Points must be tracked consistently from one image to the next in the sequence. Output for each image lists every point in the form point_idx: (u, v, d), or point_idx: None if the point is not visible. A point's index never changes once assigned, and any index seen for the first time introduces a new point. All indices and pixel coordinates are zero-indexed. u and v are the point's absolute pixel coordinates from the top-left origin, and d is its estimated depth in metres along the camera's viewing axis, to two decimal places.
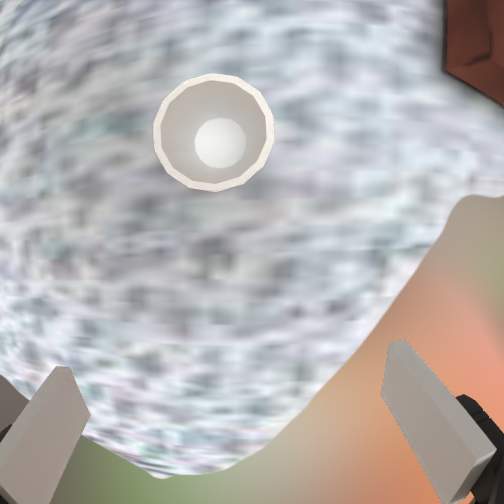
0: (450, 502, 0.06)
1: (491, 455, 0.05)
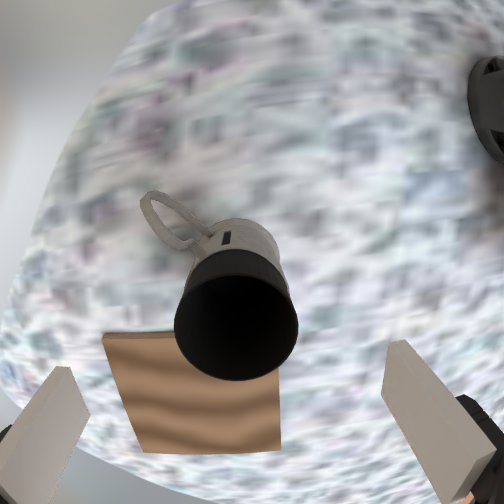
0: (450, 502, 0.06)
1: (491, 455, 0.05)
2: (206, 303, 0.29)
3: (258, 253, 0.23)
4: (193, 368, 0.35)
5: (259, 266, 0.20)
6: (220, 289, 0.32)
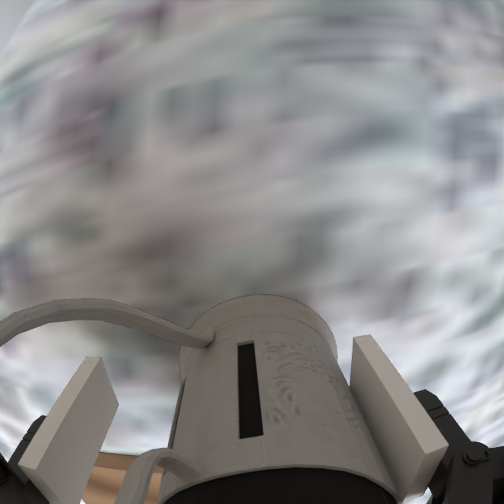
0: (406, 496, 0.07)
1: (443, 451, 0.06)
2: None
3: (347, 470, 0.06)
4: None
5: None
6: None
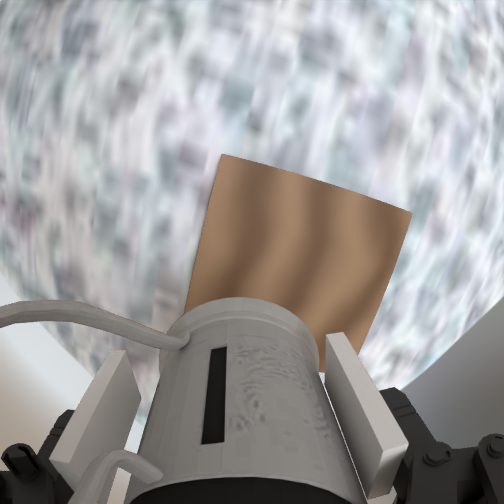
0: (371, 493, 0.07)
1: (404, 449, 0.07)
2: None
3: (309, 482, 0.06)
4: (239, 263, 0.31)
5: None
6: None
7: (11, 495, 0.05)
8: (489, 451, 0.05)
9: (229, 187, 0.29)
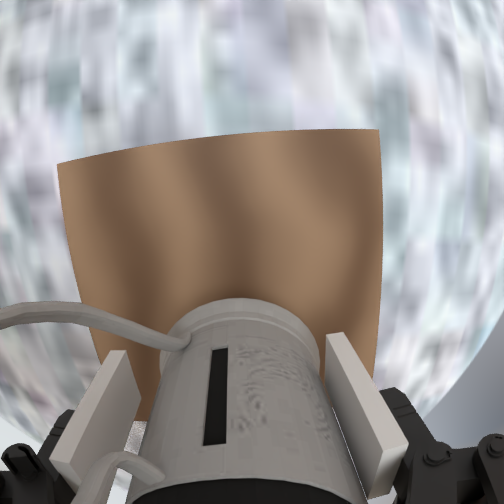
0: (371, 493, 0.07)
1: (403, 449, 0.07)
2: None
3: (311, 483, 0.06)
4: (137, 303, 0.20)
5: None
6: None
7: (11, 495, 0.05)
8: (489, 451, 0.05)
9: (80, 203, 0.18)
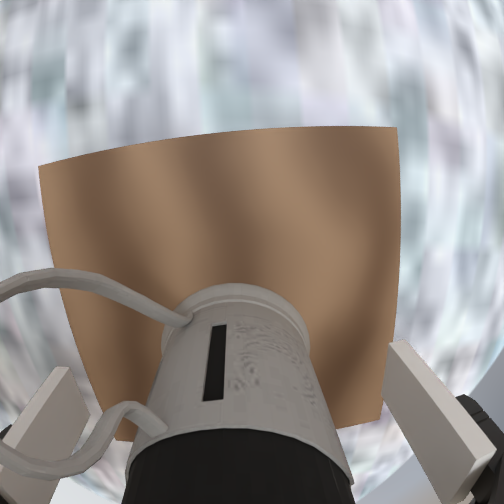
0: (450, 502, 0.06)
1: (491, 455, 0.05)
2: None
3: (297, 437, 0.08)
4: (127, 321, 0.17)
5: None
6: None
7: None
8: None
9: (63, 210, 0.16)
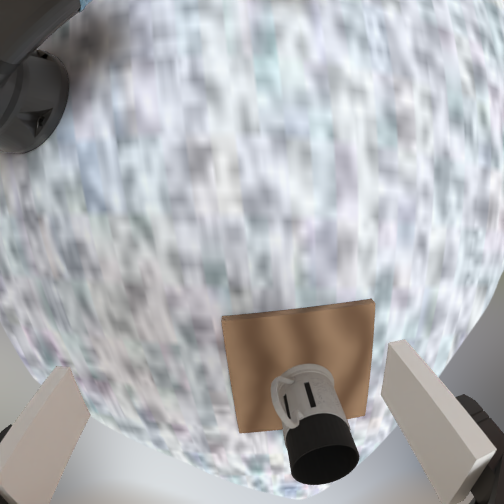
0: (450, 502, 0.06)
1: (491, 455, 0.05)
2: None
3: (335, 414, 0.32)
4: (260, 379, 0.42)
5: (340, 431, 0.30)
6: None
7: None
8: None
9: (235, 339, 0.41)
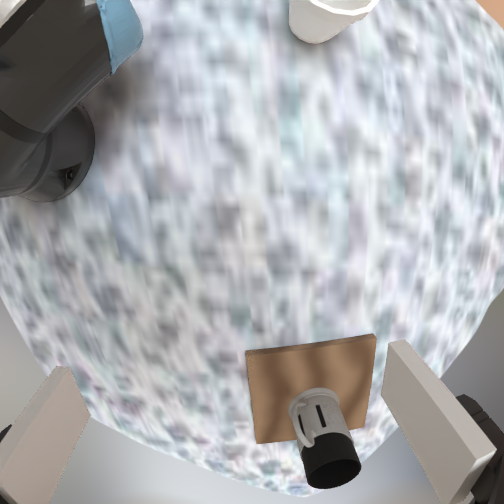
0: (450, 502, 0.06)
1: (491, 455, 0.05)
2: None
3: (342, 433, 0.38)
4: (277, 401, 0.48)
5: (346, 447, 0.36)
6: None
7: None
8: None
9: (257, 370, 0.46)
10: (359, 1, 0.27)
